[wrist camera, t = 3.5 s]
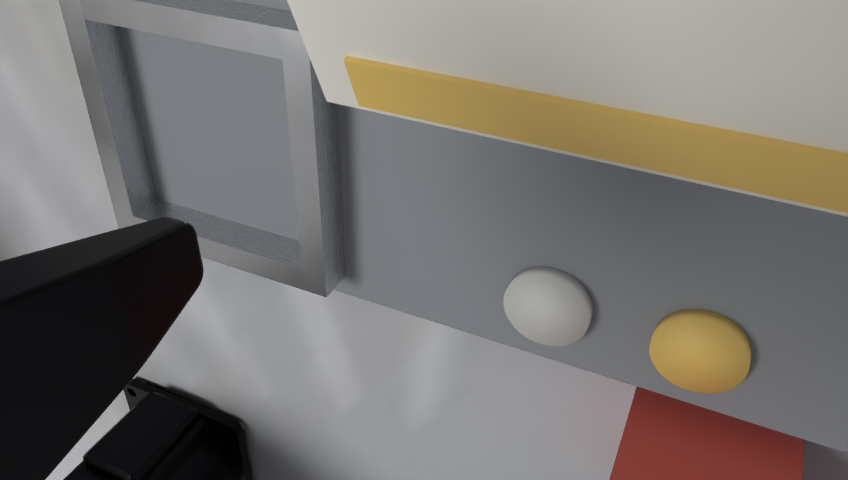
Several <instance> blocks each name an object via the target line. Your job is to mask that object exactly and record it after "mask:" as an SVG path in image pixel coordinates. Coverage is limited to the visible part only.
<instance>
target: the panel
mask: <svg viewBox="0 0 848 480" xmlns="http://www.w3.org/2000/svg"><path fill="white" fill-rule="evenodd" d="M231 1H236V2H242V3H248V4H253V5H259V6H265V7H270V8H276V9H282V10H287V11H291V9H290V7H289V4H288V2H287V0H231ZM120 28H121V33H122V37H123V42H124V46H125V51H126V55H127V60H128V64H129V69H130V73H131V78H132V83H133V87H134V92H135V96H136V101H137V105H138V110H139V114H140V119H141V124H142V128H143V133H144V137H145V142H146V146H147V151H148V155H149V160H150V165H151V169H152V174H153V178H154V183H155V187H156V192H157V196H158V199H160V200H163V201H167V202H170V203H173V204H177V205H180V206H183V207H187V208H190V209H194V210H197V211H200V212H204V213H207V214H210V215H214V216H217V217H220V218H224V219H227V220H230V221H234V222H237V223H240V224H244V225H247V226H250V227H254V228H257V229H261V230H264V231H267V232H271V233H274V234H277V235H281V236H284V237H287V238H291V239H294V240H297V241H299V234H298V223H297V212H296V201H295V191H294V180H293V169H292V158H291V148H290V137H289V126H288V115H287V105H286V94H285V83H284V72H283V62H282V59H277V58H272V57H267V56H262V55H257V54H252V53H248V52H243V51H238V50H233V49H228V48H223V47H218V46H213V45H208V44H203V43H198V42H194V41H189V40H184V39H179V38H174V37H169V36H164V35H159V34H154V33H149V32H144V31H140V30H135V29H130V28H125V27H120ZM338 120H339V141H340V161H341V181H342V201H343V221H344V241H345V262H346V276H345V277H344V278H343V279H342V281H341V282H340V283H339V284H338V285H337V286H336V287H335V288H334V289H333V290H336V291H339V292H342V293H346V294H349V295H352V296H355V297H358V298H361V299H364V300H368V301H371V302H374V303H377V304H380V305H383V306H386V307H390V308H393V309H396V310H399V311H402V312H405V313H408V314H412V315H415V316H418V317H421V318H424V319H427V320H430V321H433V322H437V323H440V324H443V325H446V326H449V327H452V328H455V329H459V330H462V331H465V332H468V333H471V334H474V335H477V336H481V337H484V338H487V339H490V340H493V341H496V342H499V343H503V344H506V345H509V346H512V347H515V348H518V349H521V350H524V351H528V352H531V353H534V354H537V355H540V356H543V357H546V358H550V359H553V360H556V361H559V362H562V363H565V364H568V365H572V366H575V367H578V368H581V369H584V370H587V371H590V372H594V373H597V374H600V375H603V376H606V377H609V378H612V379H616V380H619V381H622V382H625V383H628V384H631V385H634V386H637V387H641V388H644V389H647V390H650V391H653V392H656V393H659V394H663V395H666V396H669V397H672V398H675V399H678V400H681V401H685V402H688V403H691V404H694V405H697V406H700V407H703V408H707V409H710V410H713V411H716V412H719V413H722V414H725V415H728V416H732V417H735V418H738V419H741V420H744V421H747V422H750V423H754V424H757V425H760V426H763V427H766V428H769V429H772V430H776V431H779V432H782V433H785V434H788V435H791V436H794V437H798V438H801V439H804V440H807V441H810V442H813V443H816V444H820V445H823V446H826V447H829V448H832V449H835V450H838V451H841V452H845V450H846V448H847V447H848V217H847V216H842V215H838V214H833V213H829V212H824V211H820V210H815V209H811V208H806V207H802V206H797V205H793V204H788V203H784V202H779V201H775V200H770V199H766V198H761V197H756V196H752V195H747V194H743V193H738V192H734V191H729V190H725V189H720V188H716V187H711V186H707V185H702V184H698V183H693V182H689V181H684V180H680V179H675V178H670V177H666V176H661V175H657V174H652V173H648V172H643V171H639V170H634V169H630V168H625V167H621V166H616V165H612V164H607V163H603V162H598V161H594V160H589V159H584V158H580V157H575V156H571V155H566V154H562V153H557V152H553V151H548V150H544V149H539V148H535V147H530V146H526V145H521V144H517V143H512V142H508V141H503V140H498V139H494V138H489V137H485V136H480V135H476V134H471V133H467V132H462V131H458V130H453V129H449V128H444V127H440V126H435V125H431V124H426V123H422V122H417V121H413V120H408V119H403V118H399V117H394V116H390V115H385V114H381V113H376V112H372V111H367V110H363V109H358V108H354V107H349V106H345V105H340V104H338Z"/></svg>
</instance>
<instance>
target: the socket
mask: <svg viewBox="0 0 848 480" xmlns="http://www.w3.org/2000/svg"><path fill="white" fill-rule="evenodd" d="M59 3H60V7H61V10H62V14H63V18H64V22H65V26H66V29H67V33H68V37H69V41H70V45H71V48H72V52H73V56H74V60H75V64H76V67H77V71H78V75H79V79H80V83H81V86H82V90H83V94H84V98H85V102H86V105H87V109H88V113H89V117H90V121H91V124H92V128H93V132H94V136H95V140H96V143H97V147H98V151H99V155H100V159H101V162H102V166H103V170H104V174H105V178H106V181H107V185H108V189H109V193H110V197H111V200H112V204H113V208H114V212H115V216H116V220H117V223H118V227H119V229H120V228H124V227H128V226H131V225H135V224H139V223H142V222H146V221H150V220H153V219H157V218H161V217H172V218H176V219H179V220H182V221H185V222H188V223H190V224H191V225H193V227H194V228H195V230H196V233H197V238H198V243H199V248H200V254H201V257H204V258H207V259H210V260H213V261H216V262H219V263H222V264H225V265H228V266H232V267H235V268H238V269H241V270H244V271H247V272H250V273H253V274H256V275H259V276H262V277H265V278H269V279H272V280H275V281H278V282H281V283H284V284H287V285H290V286H293V287H296V288H299V289H303V290H306V291H309V292H312V293H315V294H318V295H321V296H324V297H327V296H328V295H329V294H330V293H331V292H332V291H333V289H334V288H335V287H336V286H337V285H338V284H339V283H340V282H341V281H342V279H343V278H344V277H345V276H346V262H345V241H344V221H343V201H342V181H341V161H340V141H339V120H338V104H336V103H331V102H327V101H326V98H325V96H324V93H323V91H322V88H321V85H320V83H319V80H318V78H317V75H316V73H315V70H314V68H313V65H312V63H311V60H310V57H309V55H308V52H307V50H306V47H305V45H304V42H303V40H302V37H301V35H300V32H299V29H298V27H297V24H296V22H295V19H294V17H293V14H292V12H291V11H287V10H282V9H276V8H270V7H265V6H259V5H253V4H248V3H242V2H236V1H231V0H59ZM120 27H125V28H130V29H135V30H140V31H144V32H149V33H154V34H159V35H164V36H169V37H174V38H179V39H184V40H189V41H194V42H198V43H203V44H208V45H213V46H218V47H223V48H228V49H233V50H238V51H243V52H248V53H252V54H257V55H262V56H267V57H272V58H277V59H282V62H283V72H284V83H285V94H286V105H287V115H288V126H289V137H290V148H291V158H292V169H293V180H294V191H295V201H296V212H297V223H298V234H299V241H297V240H294V239H291V238H287V237H284V236H281V235H277V234H274V233H271V232H267V231H264V230H261V229H257V228H254V227H250V226H247V225H244V224H240V223H237V222H234V221H230V220H227V219H224V218H220V217H217V216H214V215H210V214H207V213H204V212H200V211H197V210H194V209H190V208H187V207H183V206H180V205H177V204H173V203H170V202H167V201H163V200H160V199H158V196H157V192H156V187H155V183H154V178H153V174H152V169H151V165H150V160H149V155H148V151H147V146H146V142H145V137H144V133H143V128H142V124H141V119H140V114H139V110H138V105H137V101H136V96H135V92H134V87H133V83H132V78H131V73H130V69H129V64H128V60H127V55H126V51H125V46H124V42H123V37H122V33H121V28H120Z"/></svg>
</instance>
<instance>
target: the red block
mask: <svg viewBox="0 0 848 480" xmlns="http://www.w3.org/2000/svg"><path fill="white" fill-rule="evenodd" d="M803 444H804V439H801V438H798V437H794V436H791V435H788V434H785V433H782V432H779V431H776V430H772V429H769V428H766V427H763V426H760V425H757V424H754V423H750V422H747V421H744V420H741V419H738V418H735V417H732V416H728V415H725V414H722V413H719V412H716V411H713V410H710V409H707V408H703V407H700V406H697V405H694V404H691V403H688V402H685V401H681V400H678V399H675V398H672V397H669V396H666V395H663V394H659V393H656V392H653V391H650V390H647V389H644V388H641V387H637V388H636V391H635V395H634V398H633V402H632V405H631V408H630V412H629V415H628V419H627V422H626V425H625V429H624V432H623V436H622V439H621V442H620V446H619V449H618V453H617V456H616V459H615V463H614V466H613V470H612V473H611V477H610V480H802V476H803Z"/></svg>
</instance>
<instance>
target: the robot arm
mask: <svg viewBox="0 0 848 480" xmlns="http://www.w3.org/2000/svg"><path fill="white" fill-rule="evenodd" d="M202 277H203V264H202V259H201V254H200V248H199V243H198V238H197V233H196V230H195V228H194V227H193V225H191V224H190V223H188V222H185V221H182V220H179V219H176V218H172V217H161V218H157V219H153V220H150V221H146V222H142V223H139V224H135V225H131V226H128V227H124V228H120V229H117V230H113V231H109V232H106V233H102V234H98V235H95V236H91V237H88V238H84V239H80V240H77V241H73V242H69V243H66V244H62V245H58V246H55V247H51V248H47V249H44V250H40V251H36V252H33V253H29V254H25V255H22V256H18V257H15V258H11V259H7V260H4V261H0V480H45V479H46V478H47V477H48V476H49V475H50V474H51V472H52V471H53V470H54V469H55V468H56V467H57V465H58V464H59V463H60V462H61V461H62V460H63V459H64V457H65V456H66V455H67V454H68V453H69V452H70V450H71V449H72V448H73V447H74V446H75V445H76V443H77V442H78V441H79V440H80V439H81V438H82V436H83V435H84V434H85V433H86V432H87V431H88V429H89V428H90V427H91V426H92V425H93V424H94V423H95V421H96V420H97V419H98V418H99V417H100V416H101V414H102V413H103V412H104V411H105V410H106V409H107V407H108V406H109V405H110V404H111V403H112V402H113V400H114V399H115V398H116V397H117V396H118V395H119V393H120V392H121V391H122V390H123V389H124V392H125V396H126V399H127V402H128V405H129V409H130V411H129V412H128V413H127V414H126V415H125V416H124V417H123V418H122V419H121V420H120V421H119V422H118V423H117V424H116V425H114V426H113V427H112V428H111V429H110V430H109V431H108V432H107V433H106V434H105V435H104V436H103V437H102V438H101V439H100V440H99V441H98V442H97V443H96V444H95V445H94V446H93V447H91V448H90V449H89V450H88V451H87V452H86V453H85V455H84V456H83V461H82V462H81V463H80V464H79V465H78V466H77V467H76V468H75V469H74V470H73V471H72V472H71V473H70V474H69V475H68V476H67V477H65V478H64V479H63V480H252V476H251V470H250V464H249V459H248V453H247V448H246V442H245V437H244V431H243V428H242V426H241V425H240V424H239V423H238V422H237V421H236V420H234V419H232V418H229V417H227V416H225V415H222V414H220V413H217V412H215V411H212V410H210V409H207V408H205V407H202V406H200V405H198V404H195V403H193V402H190V401H188V400H185V399H183V398H180V397H178V396H175V395H173V394H171V393H168V392H166V391H163V390H161V389H158V388H156V387H153V386H151V385H149V384H146V383H144V382H141V381H139V380H136V379H132V378H133V377H134V376H135V375H136V373H137V372H138V371H139V370H140V369H141V367H142V366H143V365H144V363H145V362H146V361H147V359H148V358H149V357H150V355H151V354H152V352H153V351H154V350H155V348H156V347H157V345H158V344H159V342H160V341H161V340H162V338H163V337H164V335H165V334H166V333H167V331H168V330H169V328H170V327H171V325H172V324H173V323H174V321H175V320H176V318H177V317H178V315H179V314H180V313H181V311H182V310H183V308H184V307H185V305H186V304H187V303H188V301H189V300H190V298H191V297H192V296H193V294H194V293H195V291H196V290H197V288H198V287H199V285H200V283H201V281H202Z"/></svg>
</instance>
